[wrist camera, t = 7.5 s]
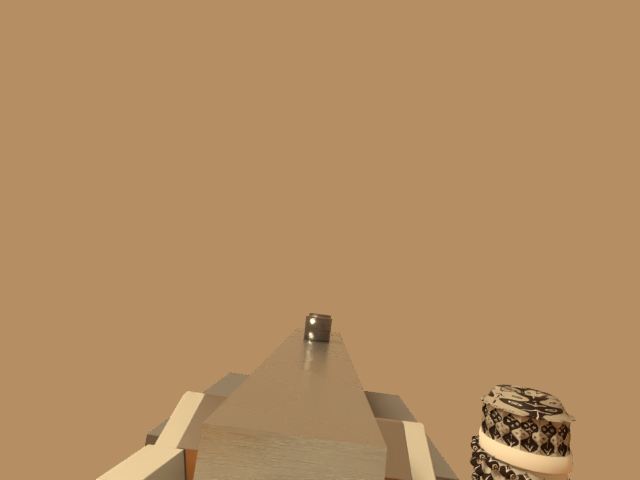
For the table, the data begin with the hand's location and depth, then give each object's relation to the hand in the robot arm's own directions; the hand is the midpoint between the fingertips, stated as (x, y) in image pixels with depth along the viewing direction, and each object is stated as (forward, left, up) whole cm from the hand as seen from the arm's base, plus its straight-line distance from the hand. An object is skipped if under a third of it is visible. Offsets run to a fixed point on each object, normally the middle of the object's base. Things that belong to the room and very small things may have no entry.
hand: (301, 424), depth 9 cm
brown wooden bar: (-5, -4, -2) cm, 7 cm away
